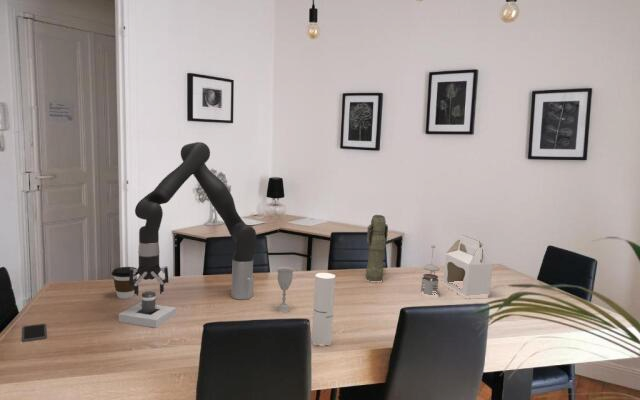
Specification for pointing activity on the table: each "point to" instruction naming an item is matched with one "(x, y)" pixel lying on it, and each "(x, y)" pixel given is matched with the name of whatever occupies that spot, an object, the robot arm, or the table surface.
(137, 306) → the plate
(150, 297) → the lens
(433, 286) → the french press
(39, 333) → the cell phone
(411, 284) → the table surface
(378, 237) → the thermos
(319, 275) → the cylindrical container
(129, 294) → the coffee cup
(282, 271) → the chalice
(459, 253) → the gable box
